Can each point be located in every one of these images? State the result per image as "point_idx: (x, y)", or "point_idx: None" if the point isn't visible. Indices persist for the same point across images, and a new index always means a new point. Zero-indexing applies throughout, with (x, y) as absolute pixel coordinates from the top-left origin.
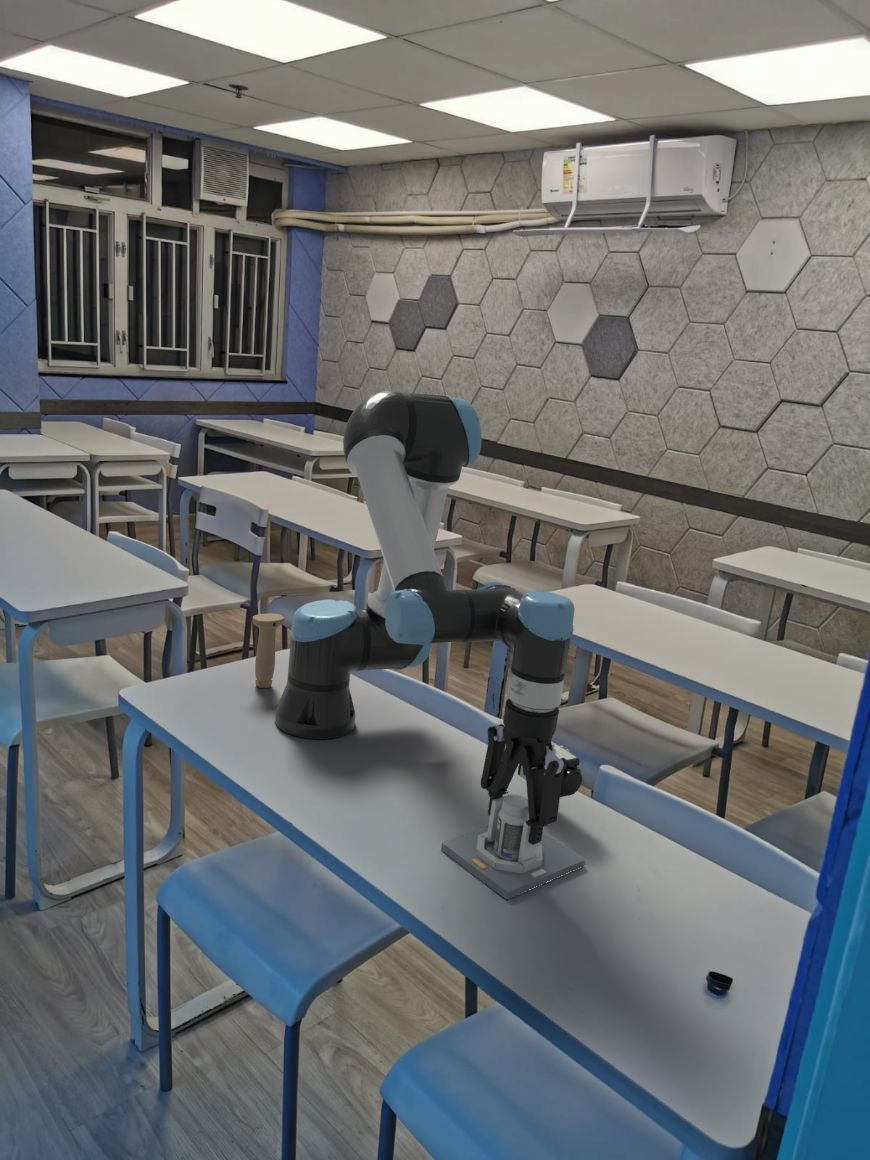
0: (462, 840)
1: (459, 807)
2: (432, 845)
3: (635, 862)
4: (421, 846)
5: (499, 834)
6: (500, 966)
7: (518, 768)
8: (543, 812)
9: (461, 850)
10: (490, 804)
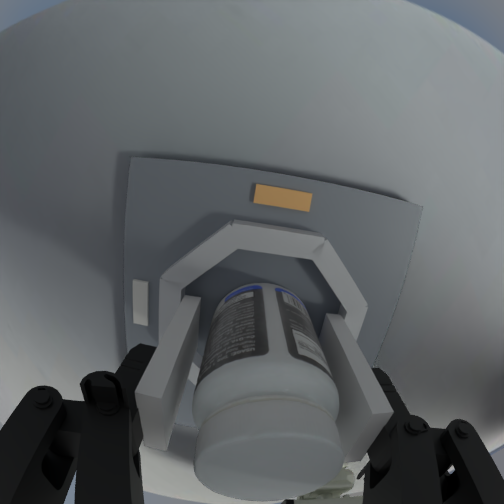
0: (392, 263)
1: (447, 369)
2: (434, 204)
3: None
4: (446, 178)
5: (284, 318)
6: (55, 17)
7: None
8: (18, 436)
9: (367, 218)
10: (393, 398)
